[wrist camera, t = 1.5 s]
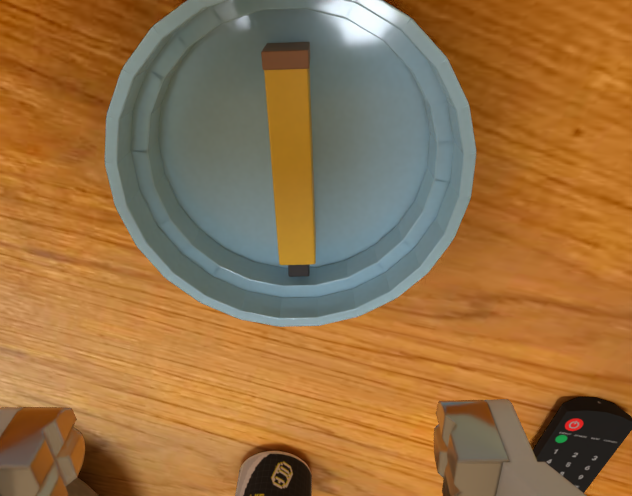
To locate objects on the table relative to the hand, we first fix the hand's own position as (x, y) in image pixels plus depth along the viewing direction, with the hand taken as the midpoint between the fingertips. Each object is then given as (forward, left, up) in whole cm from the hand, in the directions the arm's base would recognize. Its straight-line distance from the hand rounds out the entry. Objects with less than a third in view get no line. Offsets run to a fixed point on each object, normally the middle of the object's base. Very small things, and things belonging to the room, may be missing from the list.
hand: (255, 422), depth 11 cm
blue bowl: (0, 0, -19) cm, 19 cm away
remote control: (+25, +25, -19) cm, 40 cm away
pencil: (0, 0, -18) cm, 18 cm away
